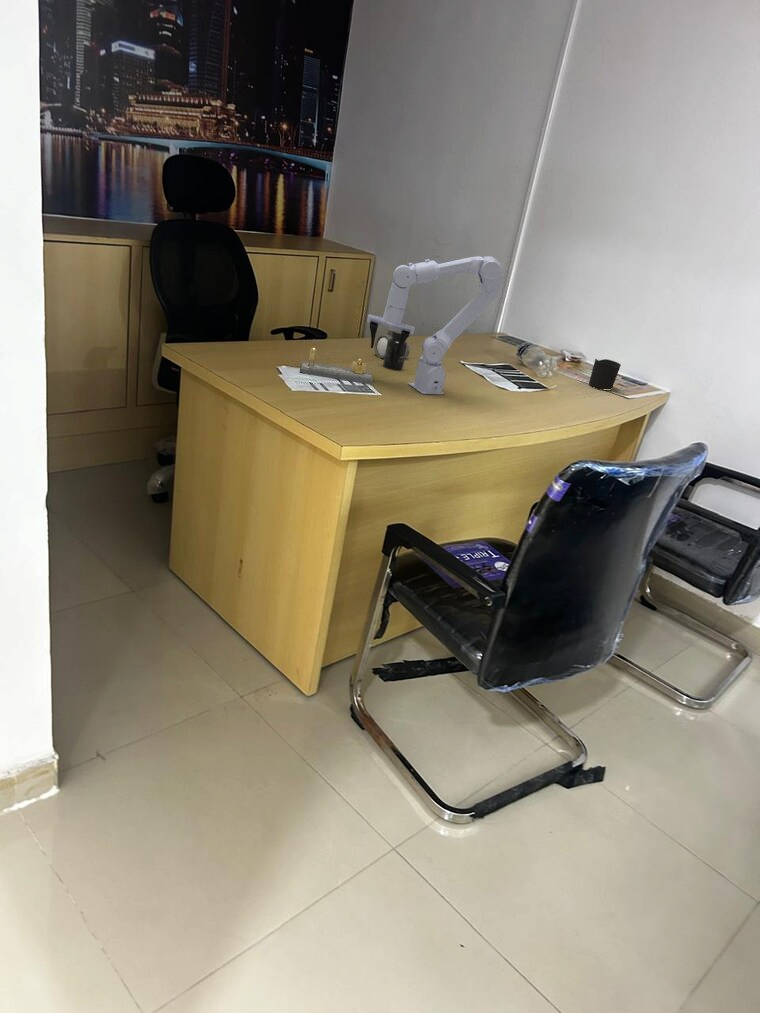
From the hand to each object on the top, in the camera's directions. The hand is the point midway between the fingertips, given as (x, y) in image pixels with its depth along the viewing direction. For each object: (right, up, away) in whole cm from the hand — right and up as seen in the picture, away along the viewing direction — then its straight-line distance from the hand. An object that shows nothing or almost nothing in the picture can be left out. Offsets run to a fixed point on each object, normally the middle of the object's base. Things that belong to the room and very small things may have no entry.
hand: (384, 350), depth 222 cm
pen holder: (+82, -3, +51) cm, 97 cm away
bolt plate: (-15, -7, +2) cm, 16 cm away
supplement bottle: (+3, -1, +22) cm, 22 cm away
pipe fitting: (+3, +5, +34) cm, 35 cm away
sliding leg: (-8, -7, +1) cm, 11 cm away
